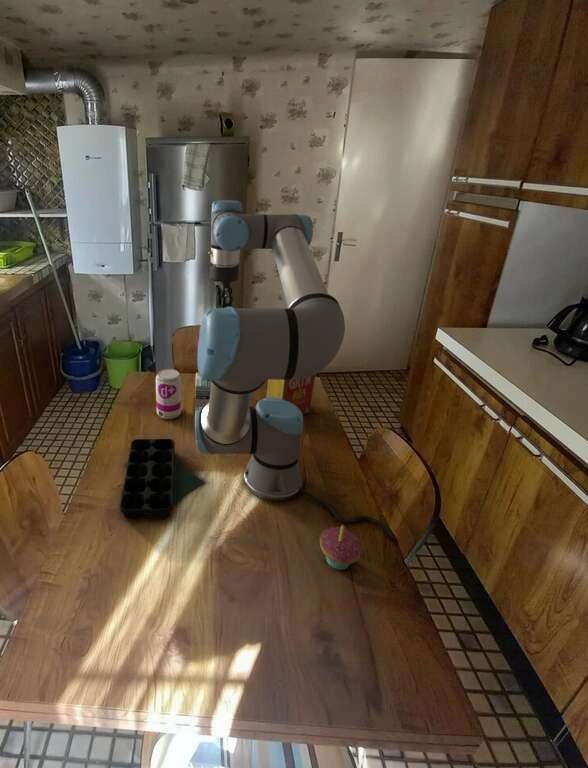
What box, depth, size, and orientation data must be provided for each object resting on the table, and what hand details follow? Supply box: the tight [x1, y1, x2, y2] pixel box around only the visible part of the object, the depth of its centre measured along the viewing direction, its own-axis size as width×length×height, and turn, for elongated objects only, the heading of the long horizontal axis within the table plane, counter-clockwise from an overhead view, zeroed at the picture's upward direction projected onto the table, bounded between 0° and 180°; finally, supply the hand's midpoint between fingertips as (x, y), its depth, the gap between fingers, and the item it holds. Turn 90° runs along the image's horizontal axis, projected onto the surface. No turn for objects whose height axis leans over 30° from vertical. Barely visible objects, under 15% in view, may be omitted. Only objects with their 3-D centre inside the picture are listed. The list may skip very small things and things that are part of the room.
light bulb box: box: [194, 372, 212, 412], centre depth 148 cm, size 11×7×11 cm, turn 179°
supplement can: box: [155, 368, 182, 420], centre depth 143 cm, size 8×8×15 cm
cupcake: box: [319, 524, 363, 571], centre depth 91 cm, size 9×8×12 cm
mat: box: [173, 461, 206, 504], centre depth 118 cm, size 20×11×1 cm, turn 44°
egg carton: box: [119, 438, 176, 520], centre depth 115 cm, size 18×30×4 cm, turn 14°
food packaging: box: [265, 374, 316, 415], centre depth 144 cm, size 13×9×25 cm
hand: (221, 348), depth 123 cm, fingers closed
